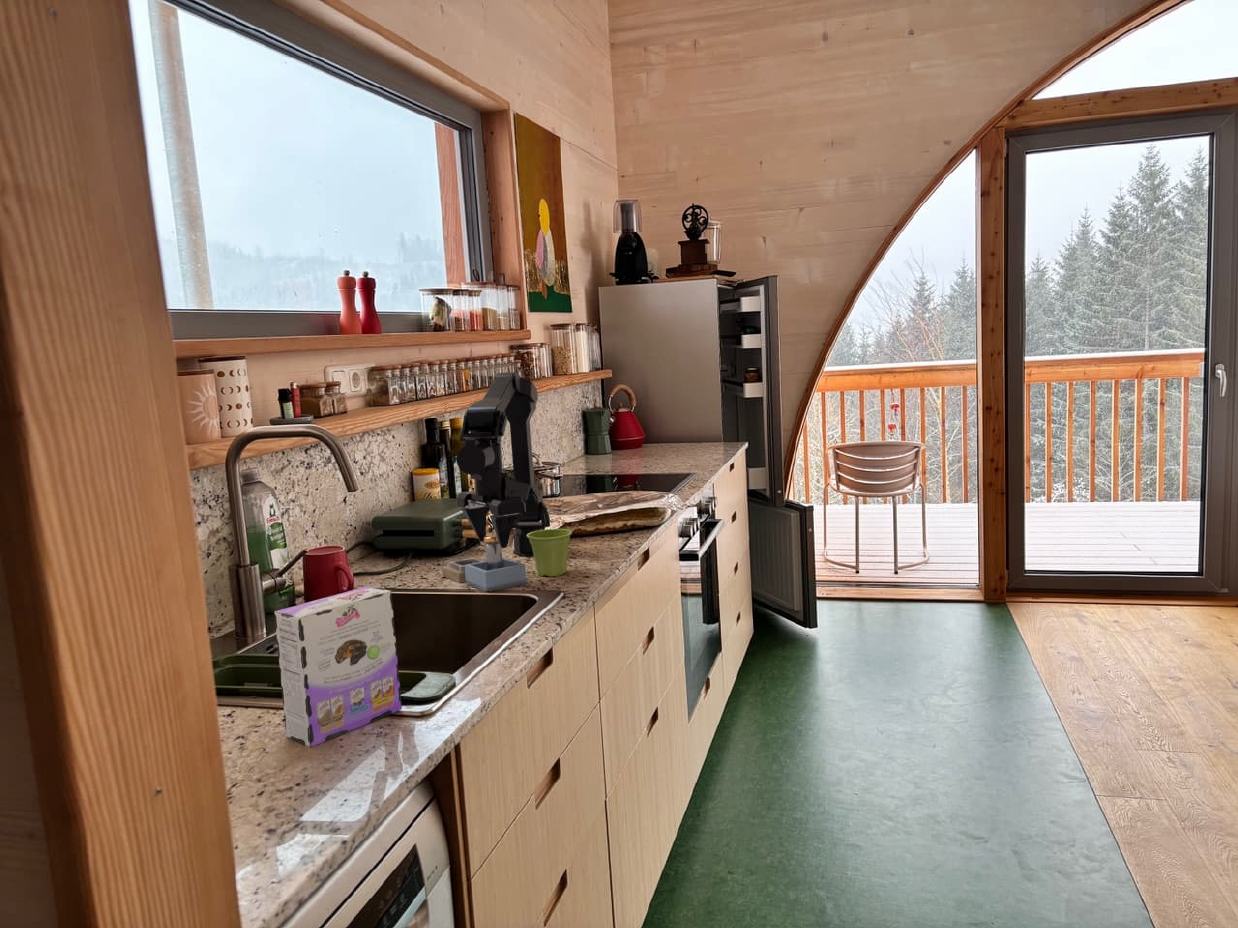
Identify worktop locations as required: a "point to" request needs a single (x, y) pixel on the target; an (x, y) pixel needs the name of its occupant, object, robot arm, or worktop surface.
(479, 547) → the worktop surface
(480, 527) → the robot arm
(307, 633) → the candy box
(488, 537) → the glass spice jar
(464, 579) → the beige shallow open box
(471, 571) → the bin
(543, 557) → the plant pot
